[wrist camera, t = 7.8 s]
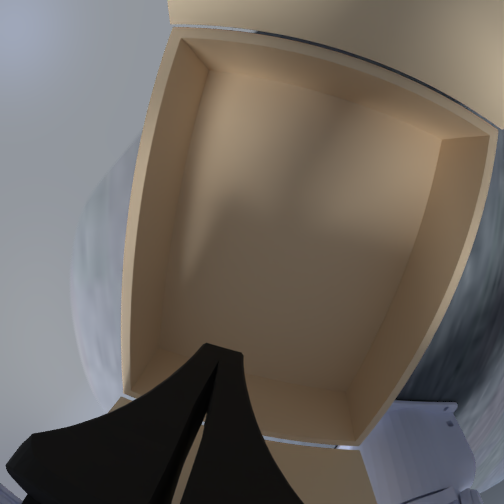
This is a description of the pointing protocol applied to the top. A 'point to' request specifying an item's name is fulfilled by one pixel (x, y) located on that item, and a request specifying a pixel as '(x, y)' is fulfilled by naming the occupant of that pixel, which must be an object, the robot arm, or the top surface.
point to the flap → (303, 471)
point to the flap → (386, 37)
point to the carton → (297, 226)
